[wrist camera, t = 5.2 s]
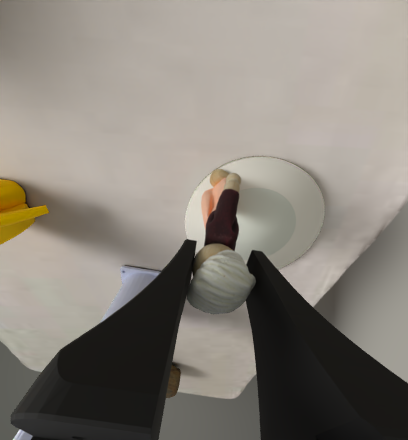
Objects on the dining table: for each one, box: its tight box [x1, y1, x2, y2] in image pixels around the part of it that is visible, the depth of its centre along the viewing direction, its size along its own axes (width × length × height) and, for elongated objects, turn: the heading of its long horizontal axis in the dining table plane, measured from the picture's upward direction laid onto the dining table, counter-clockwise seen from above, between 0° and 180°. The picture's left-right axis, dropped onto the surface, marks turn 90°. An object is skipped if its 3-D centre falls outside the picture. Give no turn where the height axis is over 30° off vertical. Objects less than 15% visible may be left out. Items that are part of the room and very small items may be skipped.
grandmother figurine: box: [187, 169, 256, 314], centre depth 12 cm, size 8×4×13 cm, turn 4°
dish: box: [185, 156, 325, 269], centre depth 20 cm, size 16×16×1 cm
